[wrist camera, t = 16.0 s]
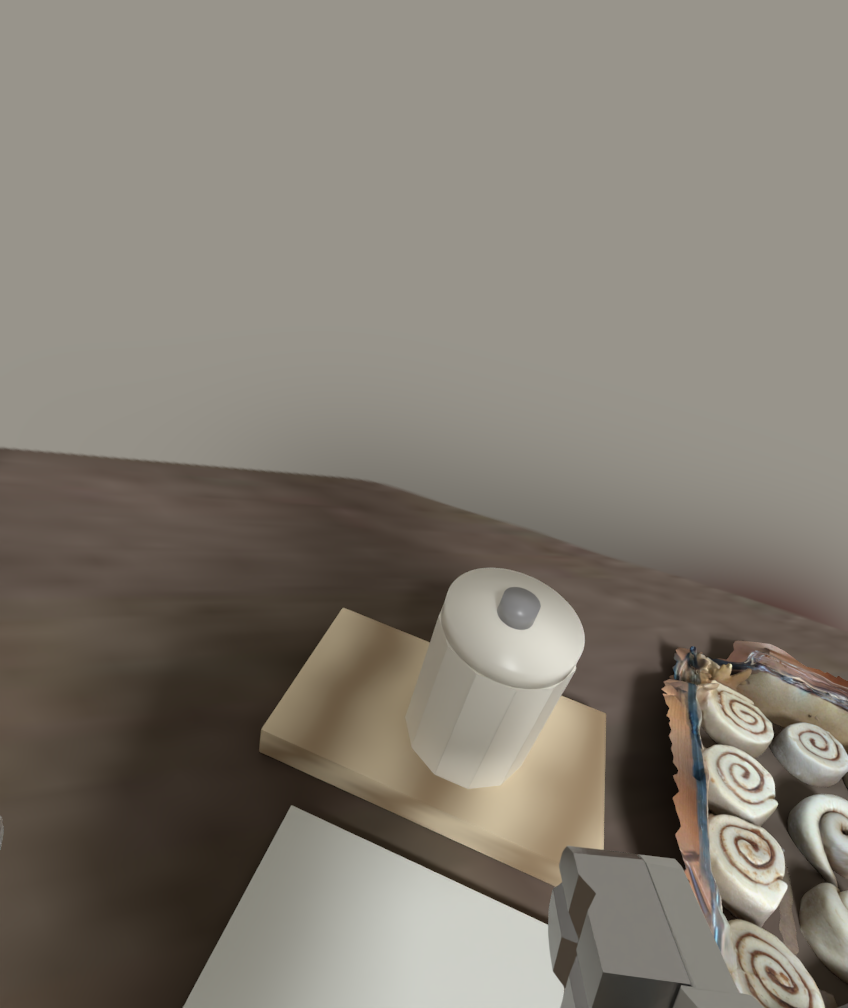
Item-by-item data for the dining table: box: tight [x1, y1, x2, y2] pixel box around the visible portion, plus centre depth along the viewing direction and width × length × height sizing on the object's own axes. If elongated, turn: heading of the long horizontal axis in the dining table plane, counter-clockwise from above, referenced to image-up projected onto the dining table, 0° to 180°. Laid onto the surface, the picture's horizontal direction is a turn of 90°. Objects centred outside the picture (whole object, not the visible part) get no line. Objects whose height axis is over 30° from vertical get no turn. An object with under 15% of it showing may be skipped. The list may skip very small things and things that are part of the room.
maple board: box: [259, 608, 606, 887], centre depth 31 cm, size 18×10×2 cm, turn 72°
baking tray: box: [662, 641, 848, 1008], centre depth 30 cm, size 30×22×5 cm
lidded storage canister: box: [405, 568, 585, 789], centre depth 28 cm, size 7×7×10 cm
